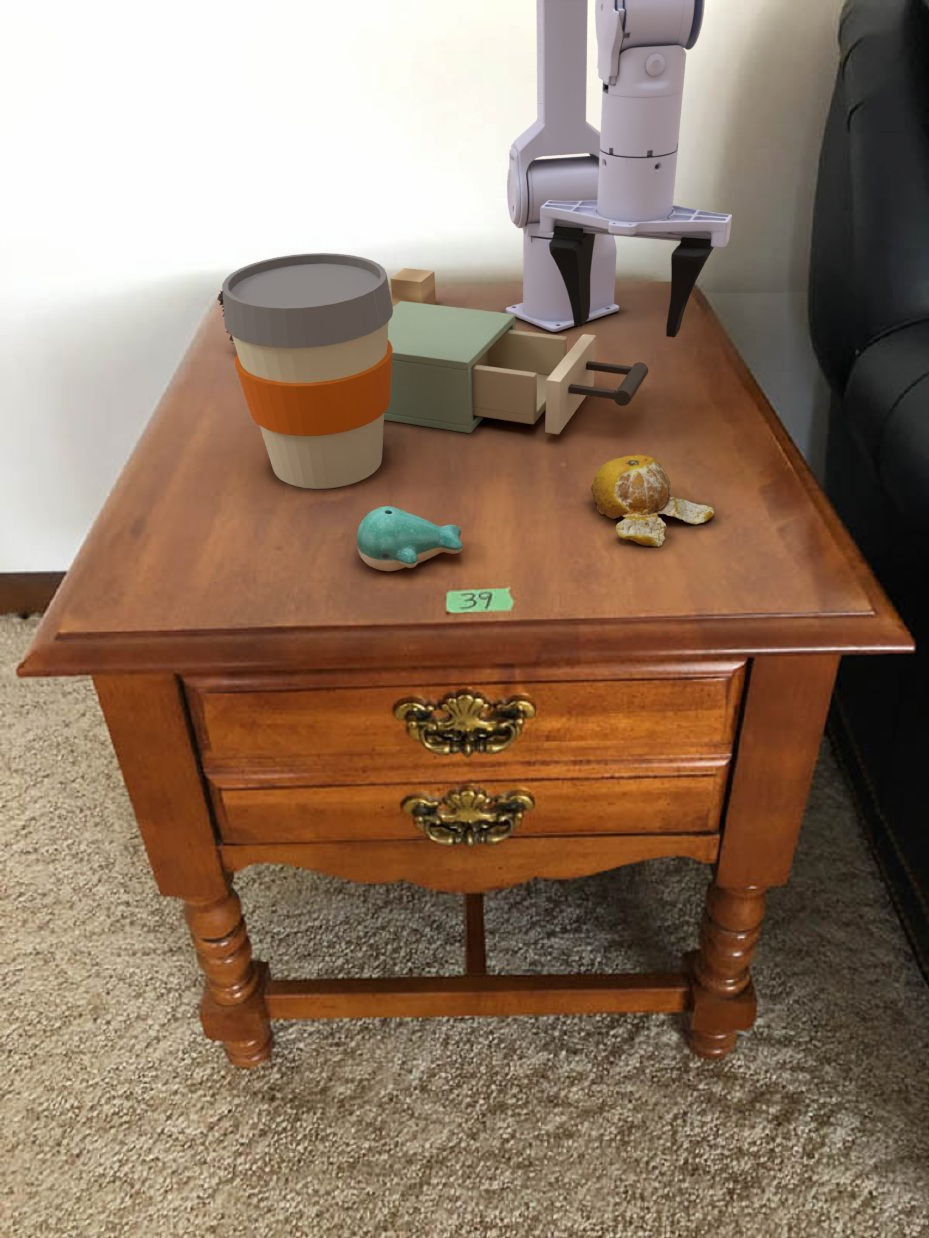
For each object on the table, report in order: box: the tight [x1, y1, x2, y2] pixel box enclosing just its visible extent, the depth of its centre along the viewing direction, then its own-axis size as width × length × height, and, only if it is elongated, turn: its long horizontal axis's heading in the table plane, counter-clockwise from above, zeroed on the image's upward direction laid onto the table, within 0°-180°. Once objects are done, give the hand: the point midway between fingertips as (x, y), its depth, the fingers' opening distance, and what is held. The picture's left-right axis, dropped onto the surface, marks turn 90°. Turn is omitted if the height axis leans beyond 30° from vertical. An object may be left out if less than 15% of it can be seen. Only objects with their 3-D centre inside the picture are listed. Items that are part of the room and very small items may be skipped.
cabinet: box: [384, 301, 517, 434], centre depth 92 cm, size 11×11×6 cm
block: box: [390, 267, 437, 307], centre depth 111 cm, size 4×4×4 cm
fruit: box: [590, 454, 715, 547], centre depth 75 cm, size 8×8×4 cm
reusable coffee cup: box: [221, 252, 393, 490], centre depth 80 cm, size 13×13×15 cm
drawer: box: [471, 329, 649, 435], centre depth 88 cm, size 16×10×5 cm, turn 68°
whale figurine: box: [356, 505, 464, 572], centre depth 71 cm, size 6×7×4 cm
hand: (626, 327), depth 84 cm, fingers open, 7 cm apart
